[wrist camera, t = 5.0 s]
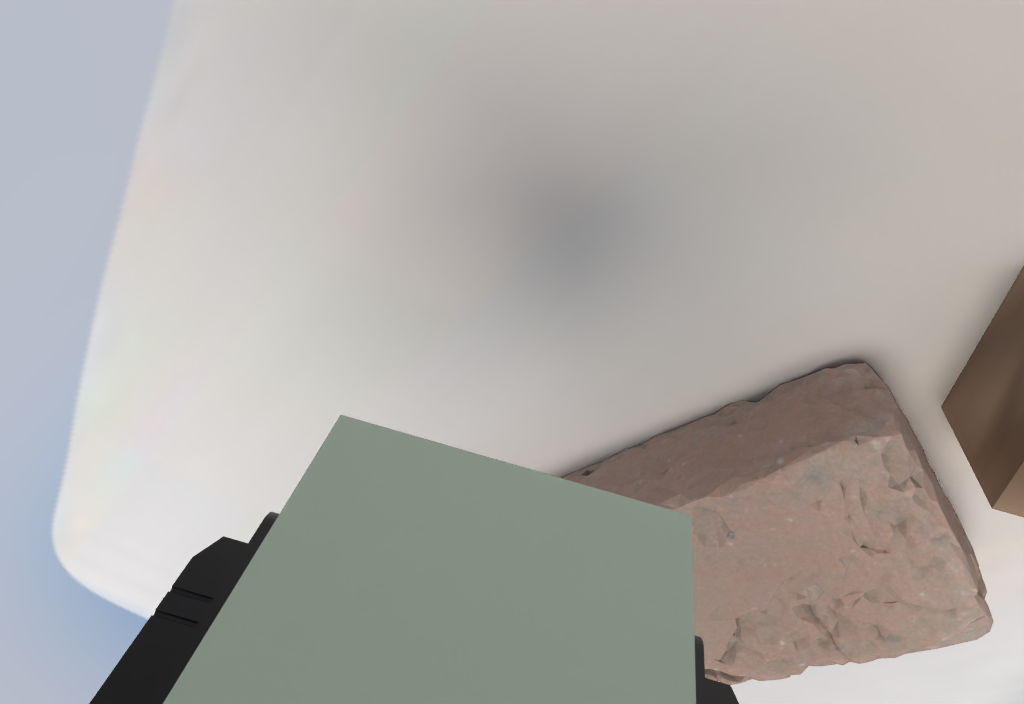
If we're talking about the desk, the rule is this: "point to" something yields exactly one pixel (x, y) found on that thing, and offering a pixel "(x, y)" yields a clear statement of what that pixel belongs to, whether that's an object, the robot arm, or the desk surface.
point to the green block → (452, 588)
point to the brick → (810, 529)
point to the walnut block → (995, 406)
